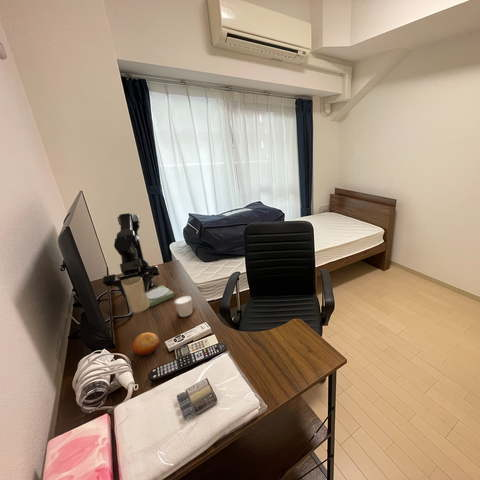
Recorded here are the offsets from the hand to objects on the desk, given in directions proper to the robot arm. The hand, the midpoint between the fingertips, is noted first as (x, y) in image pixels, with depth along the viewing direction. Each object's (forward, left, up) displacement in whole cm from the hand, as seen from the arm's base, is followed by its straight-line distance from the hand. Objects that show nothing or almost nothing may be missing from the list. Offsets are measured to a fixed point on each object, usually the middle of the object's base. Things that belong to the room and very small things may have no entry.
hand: (135, 294), depth 103 cm
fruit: (+18, -6, -15) cm, 24 cm away
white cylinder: (+7, +14, -15) cm, 22 cm away
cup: (-1, +1, -7) cm, 7 cm away
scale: (-17, +12, -15) cm, 26 cm away
